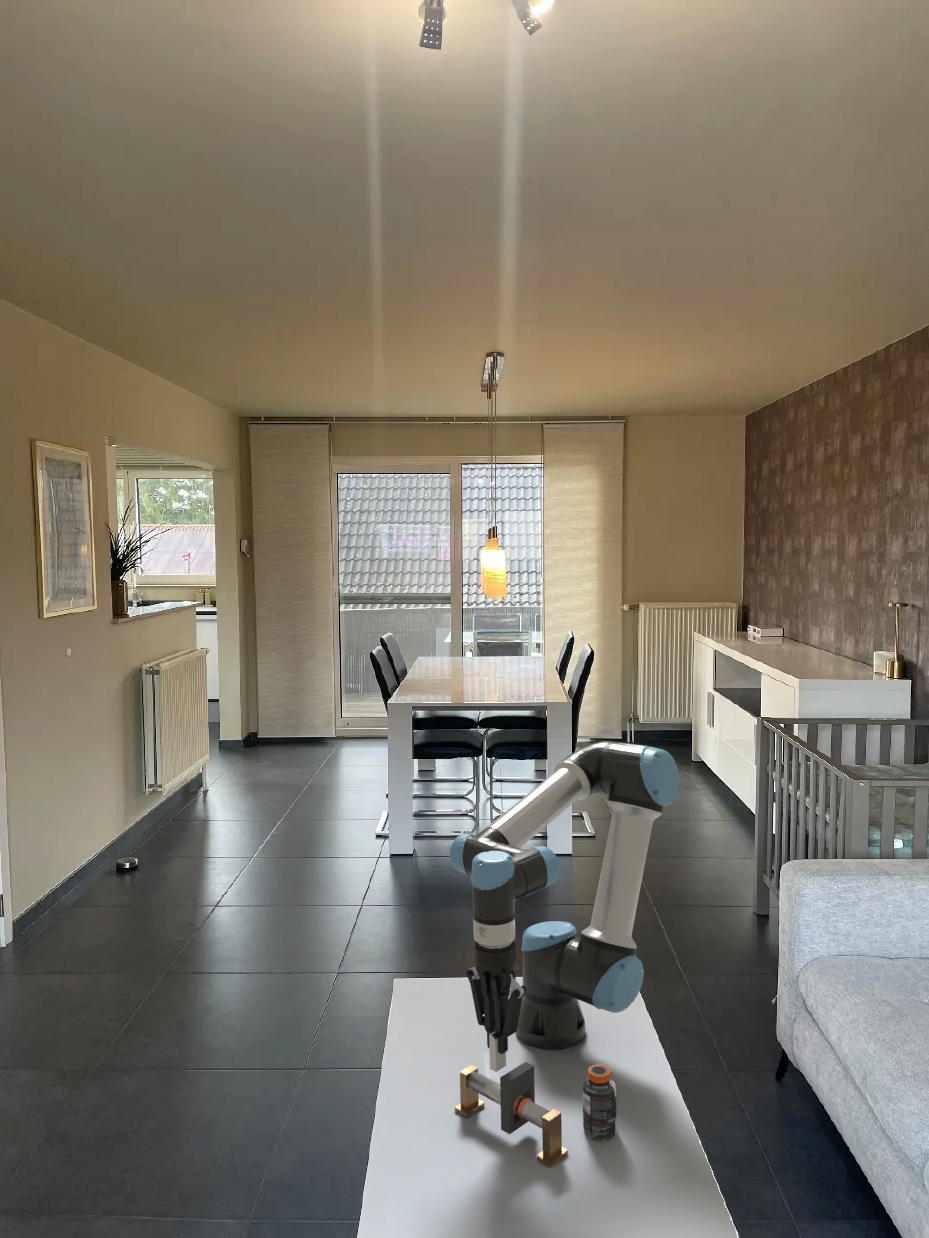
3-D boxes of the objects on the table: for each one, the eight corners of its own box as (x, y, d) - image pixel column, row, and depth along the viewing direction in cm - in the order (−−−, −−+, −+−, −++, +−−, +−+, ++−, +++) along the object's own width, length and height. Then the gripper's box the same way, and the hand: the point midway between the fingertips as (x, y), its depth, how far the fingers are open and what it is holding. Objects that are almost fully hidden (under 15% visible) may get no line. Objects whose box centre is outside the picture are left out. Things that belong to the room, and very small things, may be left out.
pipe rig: (454, 1110, 163) (454, 1070, 163) (472, 1099, 167) (472, 1060, 166) (550, 1167, 147) (549, 1123, 147) (568, 1154, 151) (567, 1110, 150)
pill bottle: (621, 1126, 158) (621, 1065, 157) (609, 1145, 153) (609, 1082, 152) (590, 1116, 161) (590, 1056, 160) (578, 1135, 156) (577, 1073, 155)
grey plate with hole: (501, 1129, 154) (500, 1077, 153) (526, 1111, 158) (525, 1061, 158) (509, 1134, 152) (508, 1081, 152) (535, 1116, 157) (534, 1065, 157)
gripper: (454, 936, 159) (458, 1062, 161) (507, 958, 150) (511, 1090, 152) (482, 923, 165) (486, 1045, 166) (535, 943, 155) (539, 1072, 157)
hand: (498, 1066), depth 159 cm, fingers closed
